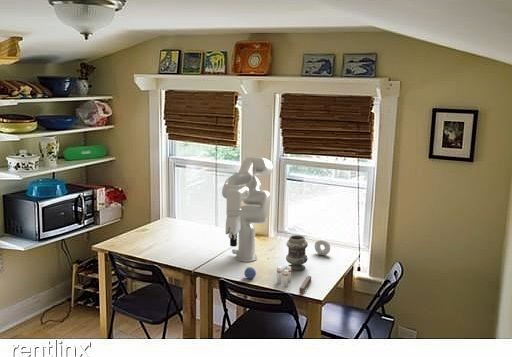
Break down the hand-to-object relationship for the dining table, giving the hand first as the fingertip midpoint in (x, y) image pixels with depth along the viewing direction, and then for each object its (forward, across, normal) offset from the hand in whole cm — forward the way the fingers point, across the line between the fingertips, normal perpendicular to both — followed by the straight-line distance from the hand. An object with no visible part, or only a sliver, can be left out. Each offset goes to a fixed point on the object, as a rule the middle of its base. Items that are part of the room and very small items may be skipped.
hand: (233, 245), depth 260 cm
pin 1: (+17, +2, +30) cm, 34 cm away
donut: (+17, -48, +38) cm, 63 cm away
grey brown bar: (+17, 0, +40) cm, 43 cm away
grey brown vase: (+17, -23, +28) cm, 40 cm away
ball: (+14, 0, +10) cm, 17 cm away
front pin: (+17, 0, +26) cm, 31 cm away
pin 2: (+17, -3, +30) cm, 34 cm away
